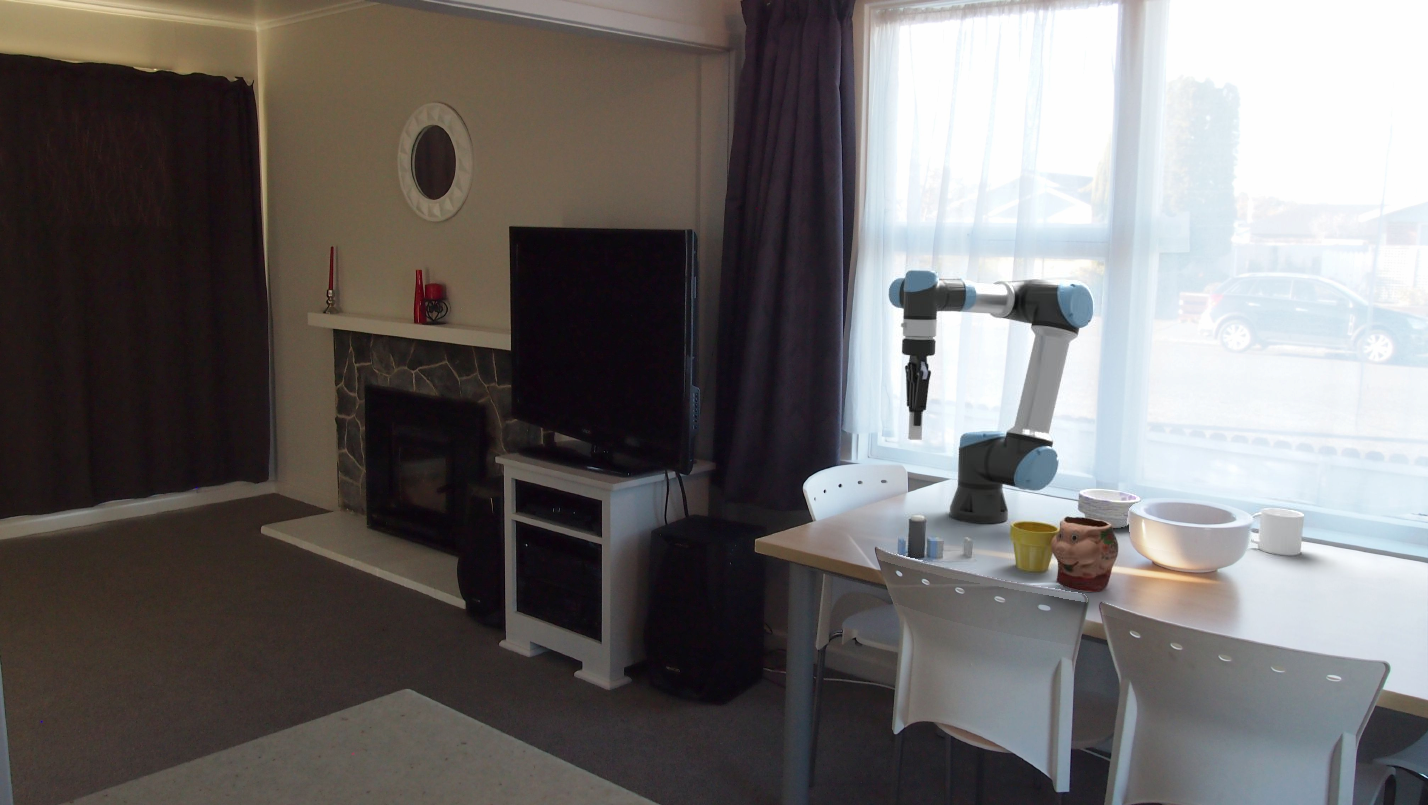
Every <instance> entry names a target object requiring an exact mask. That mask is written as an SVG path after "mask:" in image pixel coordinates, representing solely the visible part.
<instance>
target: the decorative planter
mask: <svg viewBox="0 0 1428 805" xmlns="http://www.w3.org/2000/svg"><path fill="white" fill-rule="evenodd" d="M1051 550H1052V553H1053V554H1052V556H1054V557H1055V559H1056V561H1057V575H1056V582H1057V584H1058V585H1060V586H1062V587H1065V588H1068V589H1069V590H1070V589H1071V590H1074V591H1080V592H1086V593H1097V592H1101V591H1104V590H1105V589H1106V588H1107V586H1109V585H1108V584H1109V582H1110V579H1111V575H1112V570H1113V567H1114V565H1115V562H1116V561H1117V558H1118V554H1119V542H1118V539H1117V537H1116V534H1115V532H1114V528H1113V527H1112V525H1111V524H1110V523H1108V522H1106V521H1102V520H1096V519H1093V518H1086V517H1081V516H1066V517H1064V518H1063V519H1061V520H1060V521H1059V532H1058V534H1057V535H1056V536H1055V537H1054V538H1053V539H1052V541H1051Z"/></svg>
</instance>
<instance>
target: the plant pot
mask: <svg viewBox="0 0 1428 805" xmlns="http://www.w3.org/2000/svg"><path fill="white" fill-rule="evenodd" d="M1059 530H1060V527H1058V526H1056V525H1053V524H1051V523H1047V522H1042V521H1035V520H1020V521H1013V522H1012V523H1011V524H1010V529H1009V539H1010V541H1012V545H1013V546H1012V547H1013V552H1014V559H1015V566H1016V568H1017V569H1020V570H1023V571H1027V572H1034V573H1035V572H1037V573H1039V572H1047V571H1048V570H1049V567H1050V564H1051V561H1052V558H1053V557H1052V556H1053V553H1052V550H1051V541H1052V539H1053V538H1054V537H1055V536H1056V535H1057V534H1058V532H1059Z"/></svg>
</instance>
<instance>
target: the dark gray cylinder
mask: <svg viewBox="0 0 1428 805" xmlns="http://www.w3.org/2000/svg"><path fill="white" fill-rule="evenodd" d="M925 518H926V517H925V516H924V515H919V514H912V515H910V518H909V519H908V536H907V538H908V539H907V551H908V557H910V558H915V559H921V558H924V556H925V551H926V528H927V520H926V519H925Z"/></svg>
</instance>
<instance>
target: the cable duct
mask: <svg viewBox="0 0 1428 805" xmlns="http://www.w3.org/2000/svg"><path fill="white" fill-rule="evenodd" d="M944 542H945V541H944V540H943V539H942V538H941V537H937V536H936V537H933V536H932V537H927V536H926V548H925V556H924V558H921V559H918V560H923V561H928V562H932V563H933V562H977V560H976V559H975V558H974V557H973V543H974V542H973V539H971V537H970V536H969V537H968V536H966V537H965V536H964V537H963V550H956V551H955V550H944V546H945V545H944V544H945V543H944ZM906 544H907V540H905V538H904V537H898V538H897V551H893V553H894V554H895V553H897V554H899V555H903V556H906V557H908V550H907V548H906V547H907V545H906Z"/></svg>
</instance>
